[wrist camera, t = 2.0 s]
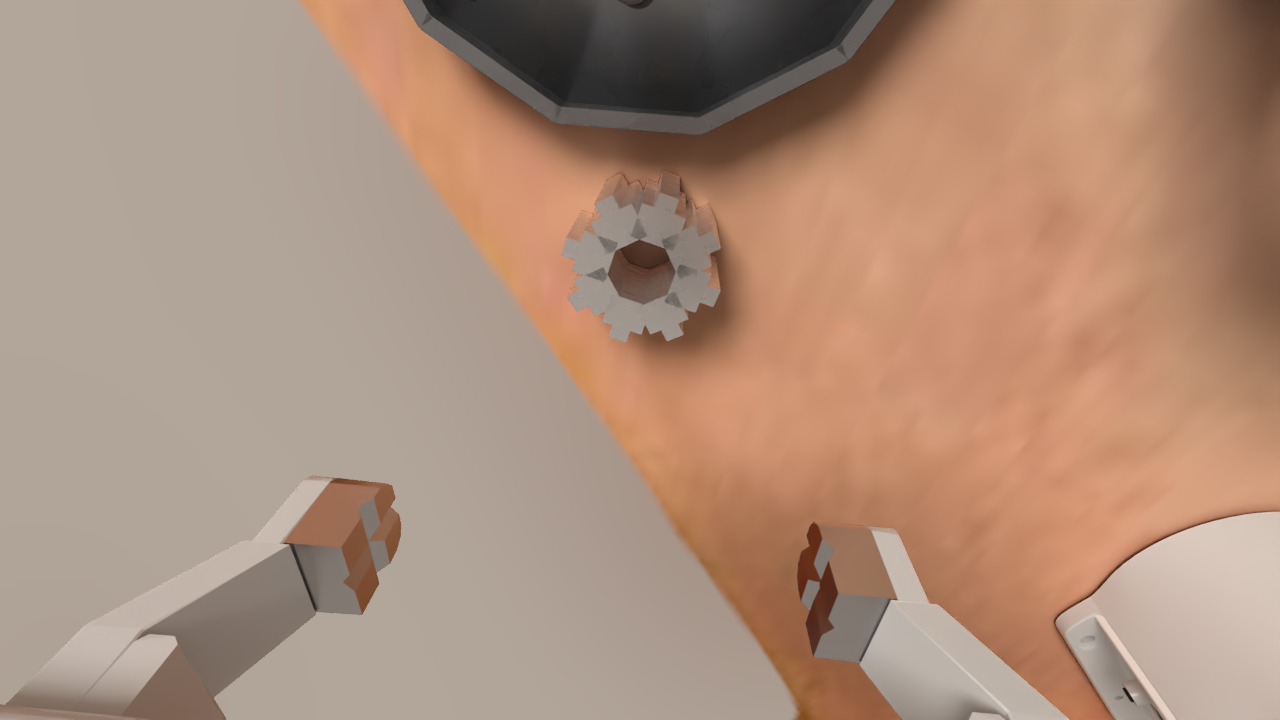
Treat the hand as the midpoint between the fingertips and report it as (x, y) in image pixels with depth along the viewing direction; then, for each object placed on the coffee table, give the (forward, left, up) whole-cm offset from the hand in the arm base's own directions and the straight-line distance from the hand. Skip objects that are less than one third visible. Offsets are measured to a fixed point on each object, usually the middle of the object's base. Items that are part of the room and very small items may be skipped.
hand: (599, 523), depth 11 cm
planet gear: (0, 0, -18) cm, 18 cm away
